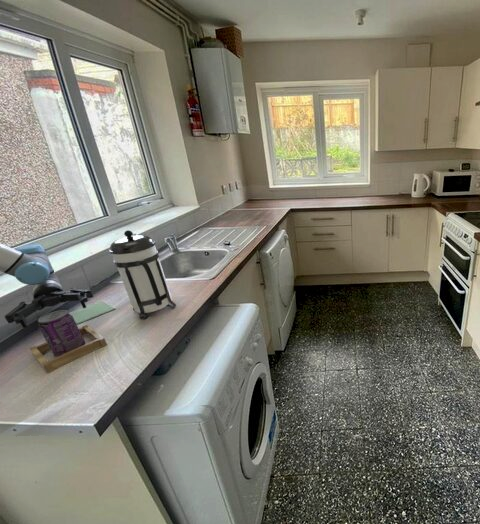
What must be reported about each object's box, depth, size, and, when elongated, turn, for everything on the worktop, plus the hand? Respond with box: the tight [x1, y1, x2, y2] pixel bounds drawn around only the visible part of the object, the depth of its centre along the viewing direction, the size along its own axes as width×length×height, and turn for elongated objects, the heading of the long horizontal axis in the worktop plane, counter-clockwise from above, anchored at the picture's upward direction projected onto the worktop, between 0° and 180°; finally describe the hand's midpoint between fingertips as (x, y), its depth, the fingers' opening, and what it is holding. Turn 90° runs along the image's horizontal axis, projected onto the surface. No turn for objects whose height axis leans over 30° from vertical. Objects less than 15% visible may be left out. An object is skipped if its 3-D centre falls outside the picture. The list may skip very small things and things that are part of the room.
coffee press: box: [108, 229, 177, 321], centre depth 99 cm, size 17×16×30 cm
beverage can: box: [37, 309, 86, 357], centre depth 83 cm, size 7×7×12 cm
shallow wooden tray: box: [29, 324, 108, 374], centre depth 85 cm, size 14×13×2 cm
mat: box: [68, 300, 116, 325], centre depth 105 cm, size 12×12×1 cm
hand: (54, 313), depth 88 cm, fingers open, 13 cm apart
